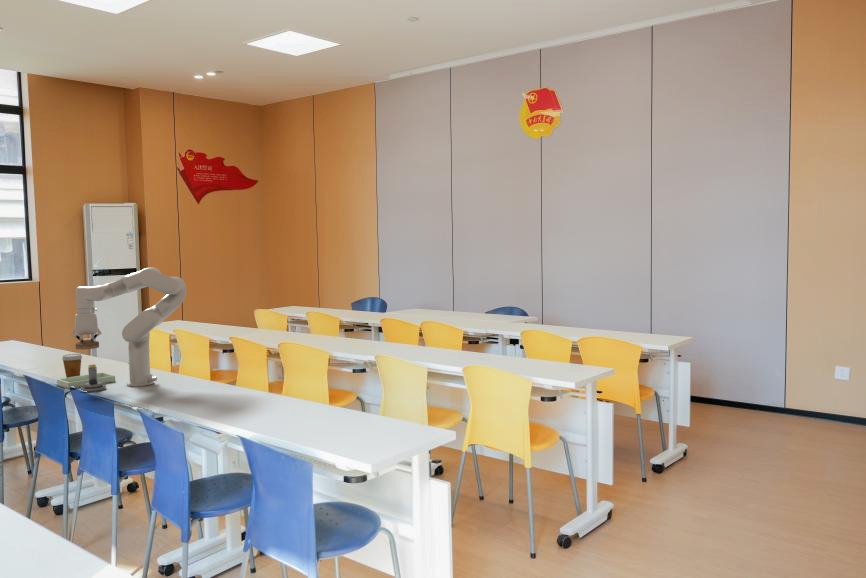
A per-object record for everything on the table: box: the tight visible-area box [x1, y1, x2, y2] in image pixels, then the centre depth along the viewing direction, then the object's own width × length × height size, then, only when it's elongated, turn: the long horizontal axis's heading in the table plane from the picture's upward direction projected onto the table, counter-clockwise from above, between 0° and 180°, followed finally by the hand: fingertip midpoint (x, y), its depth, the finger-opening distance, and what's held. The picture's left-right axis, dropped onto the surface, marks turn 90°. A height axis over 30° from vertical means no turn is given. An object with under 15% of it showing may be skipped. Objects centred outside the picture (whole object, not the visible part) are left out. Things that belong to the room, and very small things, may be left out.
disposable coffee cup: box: [61, 353, 83, 378], centre depth 365 cm, size 10×10×12 cm
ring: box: [75, 337, 100, 351], centre depth 337 cm, size 16×10×3 cm, turn 27°
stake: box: [80, 363, 107, 393], centre depth 334 cm, size 11×11×12 cm
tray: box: [56, 371, 116, 390], centre depth 349 cm, size 23×15×3 cm, turn 138°
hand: (87, 347), depth 341 cm, fingers closed on ring, 3 cm apart
